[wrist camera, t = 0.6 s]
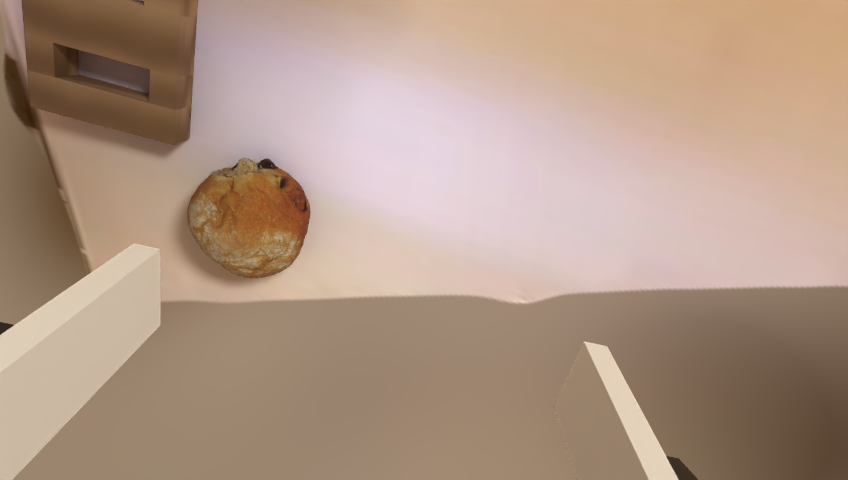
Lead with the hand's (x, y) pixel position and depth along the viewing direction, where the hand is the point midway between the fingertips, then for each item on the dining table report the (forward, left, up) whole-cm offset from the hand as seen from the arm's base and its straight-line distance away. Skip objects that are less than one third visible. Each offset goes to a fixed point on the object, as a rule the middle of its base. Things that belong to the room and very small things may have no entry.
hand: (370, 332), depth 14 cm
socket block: (-4, -24, -26) cm, 36 cm away
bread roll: (+9, -12, -27) cm, 31 cm away
